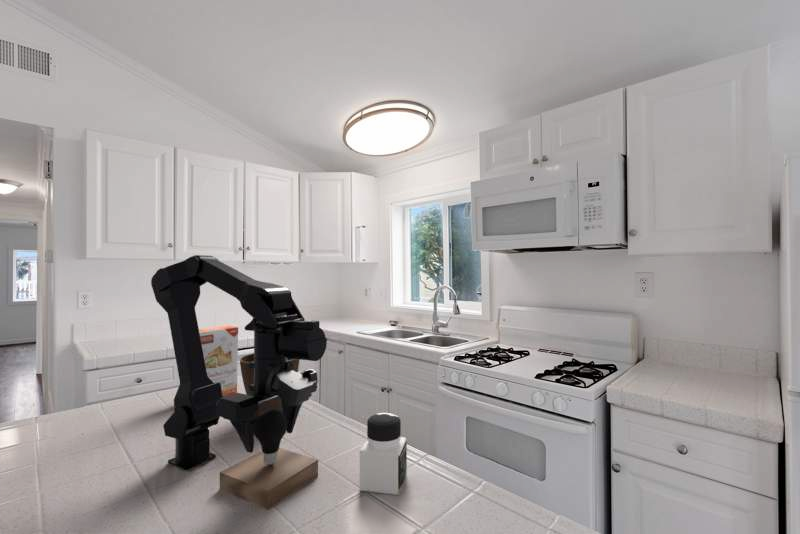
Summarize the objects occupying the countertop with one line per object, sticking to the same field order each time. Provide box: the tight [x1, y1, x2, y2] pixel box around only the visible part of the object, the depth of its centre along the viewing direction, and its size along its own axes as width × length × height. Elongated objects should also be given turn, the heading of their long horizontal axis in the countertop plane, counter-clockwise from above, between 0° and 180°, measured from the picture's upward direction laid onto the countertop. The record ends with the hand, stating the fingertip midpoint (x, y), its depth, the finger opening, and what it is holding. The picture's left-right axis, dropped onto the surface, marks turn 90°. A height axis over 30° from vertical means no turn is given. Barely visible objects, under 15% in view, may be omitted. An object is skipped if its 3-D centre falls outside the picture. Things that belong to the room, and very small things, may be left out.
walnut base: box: [219, 447, 319, 510], centre depth 72 cm, size 12×12×3 cm
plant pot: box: [239, 353, 301, 415], centre depth 103 cm, size 15×15×16 cm
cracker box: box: [199, 325, 239, 397], centre depth 119 cm, size 14×6×21 cm, turn 147°
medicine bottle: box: [359, 412, 408, 496], centre depth 72 cm, size 7×7×12 cm
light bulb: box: [254, 409, 287, 466], centre depth 72 cm, size 6×6×10 cm
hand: (270, 441), depth 72 cm, fingers open, 9 cm apart
